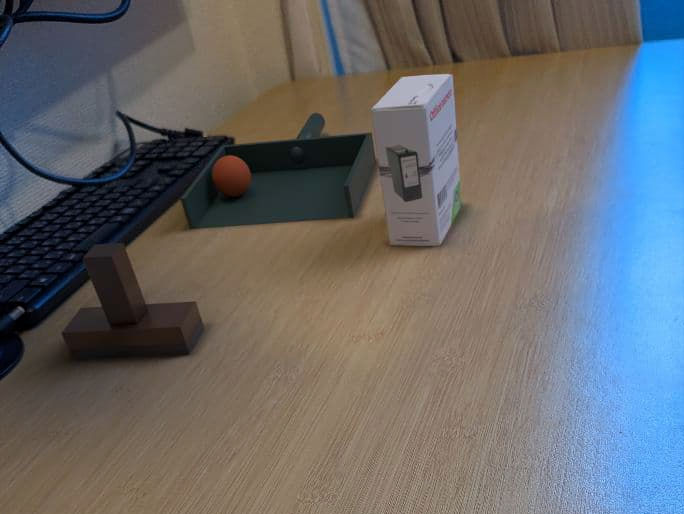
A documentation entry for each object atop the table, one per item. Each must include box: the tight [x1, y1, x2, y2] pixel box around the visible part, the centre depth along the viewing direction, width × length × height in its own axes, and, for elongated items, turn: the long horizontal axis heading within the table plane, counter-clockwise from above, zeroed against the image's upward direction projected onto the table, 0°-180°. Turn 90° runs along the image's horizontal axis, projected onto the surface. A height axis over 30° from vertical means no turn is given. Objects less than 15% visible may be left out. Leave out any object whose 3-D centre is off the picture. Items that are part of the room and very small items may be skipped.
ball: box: [212, 156, 251, 197], centre depth 86 cm, size 4×4×4 cm
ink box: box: [370, 73, 462, 247], centre depth 72 cm, size 9×5×12 cm, turn 161°
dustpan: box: [180, 112, 377, 230], centre depth 89 cm, size 26×17×3 cm, turn 171°
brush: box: [60, 242, 205, 360], centre depth 64 cm, size 10×4×8 cm, turn 82°
